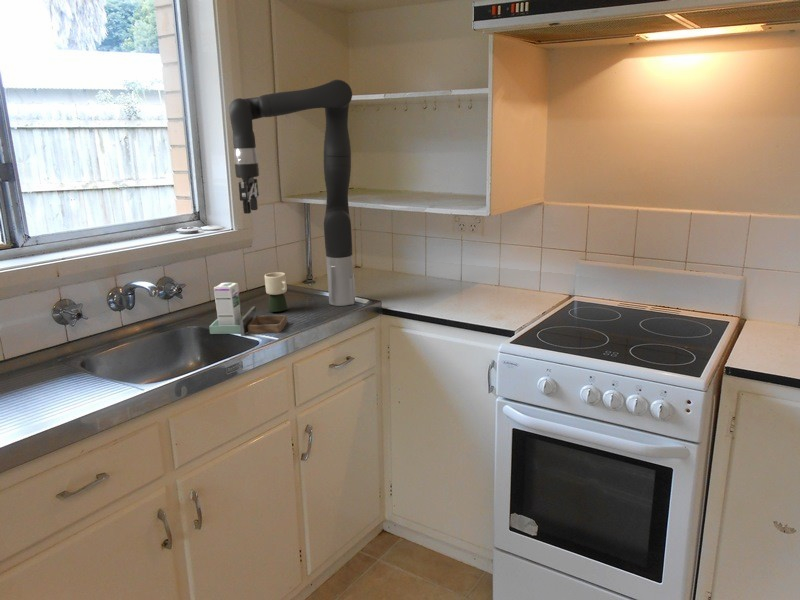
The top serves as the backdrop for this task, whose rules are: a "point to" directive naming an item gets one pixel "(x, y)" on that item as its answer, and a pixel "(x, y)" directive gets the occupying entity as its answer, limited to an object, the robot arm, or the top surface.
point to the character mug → (276, 291)
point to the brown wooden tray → (267, 320)
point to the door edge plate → (247, 320)
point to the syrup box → (228, 304)
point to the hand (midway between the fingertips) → (251, 211)
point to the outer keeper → (224, 328)
